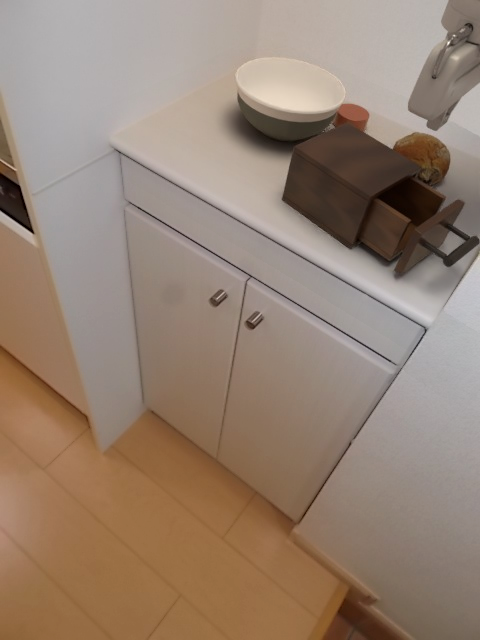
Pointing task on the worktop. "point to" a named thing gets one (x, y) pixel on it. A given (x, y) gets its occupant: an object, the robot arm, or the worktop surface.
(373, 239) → the drawer
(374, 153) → the cabinet
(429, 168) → the bread roll
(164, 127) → the worktop surface
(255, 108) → the bowl
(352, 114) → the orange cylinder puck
